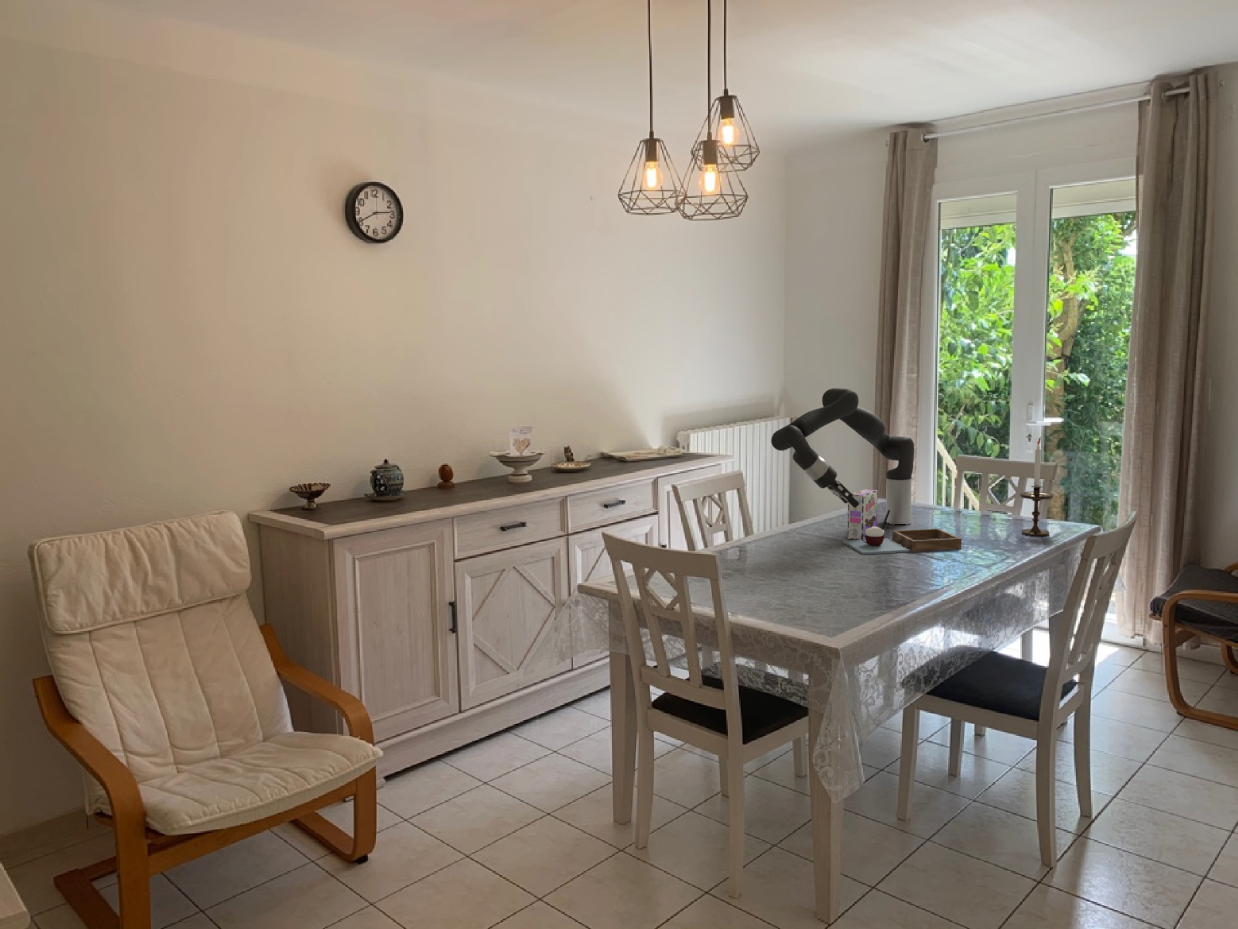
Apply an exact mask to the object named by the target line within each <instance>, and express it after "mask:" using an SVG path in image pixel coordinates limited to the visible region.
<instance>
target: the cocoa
mask: <svg viewBox="0 0 1238 929" xmlns="http://www.w3.org/2000/svg"><path fill="white" fill-rule="evenodd" d="M889 513H890V510H888V512H887V514H886V513H885V517H884V520H883V523H882V525H881V527H878V526H877V527H871V528H868V529H866V530H865V533H866V534H865V536H864V535H862V536H861V540H862V541H863V542H865V541H864V540H863V539H862V537H863V536H864V537H865V539H866V542H865V543H866V544H868V545H870V546H880V545H881V544H882V543H883V540H884V538H885V530H884V528H885V525H886V524H887V523H886V521H887V518H888V515H889Z"/></svg>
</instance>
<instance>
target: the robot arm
mask: <svg viewBox="0 0 1238 929" xmlns="http://www.w3.org/2000/svg"><path fill="white" fill-rule="evenodd" d="M859 401H860V400H859V396H858V394H857V392H856V391H854V390H853V389H850V388H840V387H839V388H837V387H836V388H835V387H833V388H828V389H827V390H825V392H824V393H823V395H822V398H821V402H822V407H820V408H816V409H812V410H810V411H808V412H807V411H806V412H805V413H804V414H802V415H800V416H799V417H797V418H796V419H795V420H793V421H792V422H791V423H788V424H786V426H784V427H782V428H779V429H777V430H776V431H775V432H773V434H772V436H771V440H770V442H771V445H772V447H773V449H775V450H776V451H780V452H783V451H786V450H787V451H788V450H789V449H791V448H793V449H794V453H793V454H792V460H793V461H794V462H795V464H797V465H798V466H799V467H800V468H801V469H802V470H803V471H804V472H805V474H806V475H807V476H808V478H810V479H811V480H812V481H813V482H814V483H815V484H816V485H817V486H818V487H819V488H821V489H825V488H827V489H828V490H829V491H830V492H831V493H832V495H835V496H836V497H838V498H839V499H840V500H841V501H842V502H843V504H848V502H849V503H850V504H851V505H852V506H853V507H854V508H856V507H857V506H858V505H859V502H858V501H857V500H856V499H855V498H854V497H853V494H852V493H853V492H851V491H850V490H848V488H846V486H844V484H843V483H842V482H840V481H839V480H837V477H838V473H837V471H836V470H835V468H833V467H832V465H830V464H829V463H828V462H827V461H826V460H825V459H824V458H823V457H822V456H820V455H819V454H818V453H817V452H816V451H815V450H814V449H813V448H812V447H811V446H810V444H809V443H808V441H807V439H806V438H807V437H809V436H811V435H812V434H814V433H815V432H816V431H818V430H820V429H822V428H823V427H825V426H826V425H830V424H831V423H833V422H836V421H837V420H840V421H841V422H843V423H845V425H846V426H848V427H850V429H852V430H853V431H854V432H855V433H857V434H858V435H859V436H860V437H861V438H863V439H864V440H866V441H867V442H868V443H870V444H871V445H872V446H873V447H874V448H876V450H877V451H878V452H879V453H880V454H881V455H882V456H883V458H885V459H887V460H888V461H889V460H890V461H898V463H897V466H896V467H895V468H892V469H888V470H887V471H886V475H885V476H886V477H885V479H886V480H885V481H886V482H885V484H886V485H885V486H886V487H885V489H886V490H885V515H886V514H887V512H888V510H890V513H889V515H888V518H887V521H886V522H887V523H886V524H888V523H889V525H895V524H906V525H910V524H911V523H912V481H913V480H912V476H913V471H914V463H915V462H914V461H915V460H914V459H915V443H914V440H913V439H912V438H911V437H908V436H897V435H890V434H888V433H887V432H886V426H885V423H884V421H883V420H882V419H881V418H880V417H879V416H878V415H876V414H875V413H874V412H873V411H870V410H868V409H866V408H863V407H861V406H859Z"/></svg>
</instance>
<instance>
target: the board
mask: <svg viewBox="0 0 1238 929" xmlns="http://www.w3.org/2000/svg"><path fill="white" fill-rule="evenodd" d="M864 541H865V542H866V539H865V540H864ZM865 542H863V541H862V540H852V539H848V540H843V544H844V545H846V544H848V545H849V546H848V545H847V546H848V547H850V548H851V549H853V548H854V549H855V551H857V552H858V551H859V552H860V554H861V555H862V556H863V555H878V554H879V555H880V554H894V553H895V554H896V552H897V553H898V552H901V553H909V552H910V550H909V549H907V548H905V547H903V546H901V545H900V544H898V543H896V542H894V541H892V539H890V538H888V537H886V538H885V537H884V540H883V543H882V544H881V545H880V546H870V545H868V544H866V543H865ZM854 549H853V550H854ZM859 552H858V553H859Z"/></svg>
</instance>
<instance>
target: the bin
mask: <svg viewBox="0 0 1238 929" xmlns="http://www.w3.org/2000/svg"><path fill="white" fill-rule="evenodd" d="M891 531H892V533H891V538H892V539H891V540H892V541H895V542H896V543H897V544H899V545H900V544H901V545H902V546H904V547H905V548H908V549H910V550H909V551H911V552H929V551H928V550H930V551H940V550H939V549H948V550H958V549H957V548H961V549H962V541H963V540H962V539H963V538H962V537H960V536H956V535H954V534H953V533H949V532H947V531H945V530H943V529H941V528H938V527H936V528H924V529H923V528H921V529H902V530H900V529H899V530H891ZM930 538H931V539H930ZM932 538H937V539H932ZM917 539H925V540H917Z"/></svg>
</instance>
